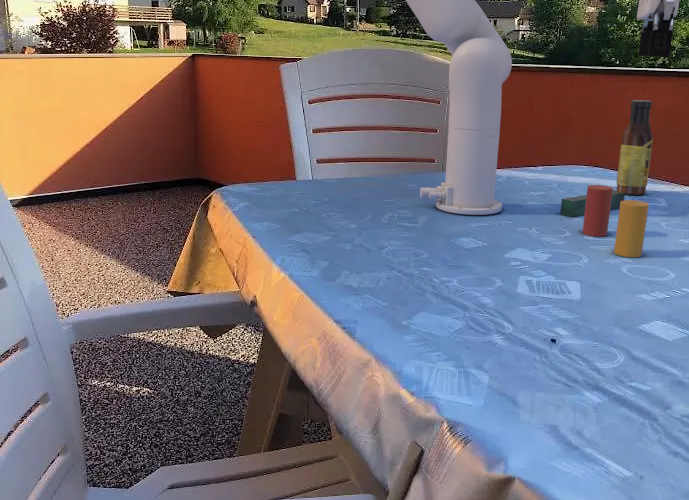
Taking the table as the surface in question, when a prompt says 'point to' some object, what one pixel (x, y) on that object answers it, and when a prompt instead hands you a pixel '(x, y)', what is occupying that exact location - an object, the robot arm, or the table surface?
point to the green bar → (577, 204)
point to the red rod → (597, 210)
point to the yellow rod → (631, 228)
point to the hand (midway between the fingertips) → (653, 56)
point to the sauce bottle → (635, 150)
